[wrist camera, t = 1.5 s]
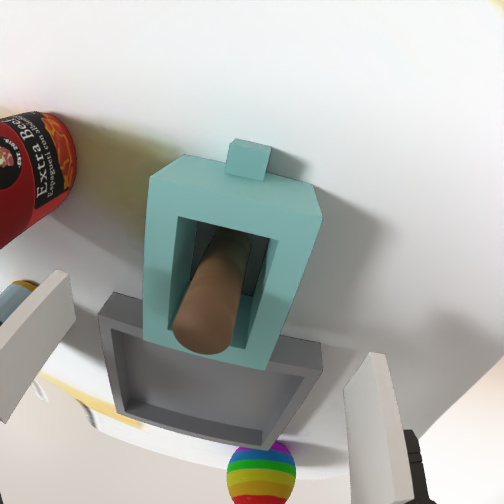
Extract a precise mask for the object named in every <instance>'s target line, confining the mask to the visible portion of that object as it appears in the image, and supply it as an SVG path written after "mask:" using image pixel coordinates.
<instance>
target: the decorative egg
mask: <svg viewBox="0 0 504 504" xmlns="http://www.w3.org/2000/svg"><path fill="white" fill-rule="evenodd" d="M295 478H296V467H295V463H294V460H293V457H292V455H291V453H290V452H289V451H288V449H287V448H286V447H285V446H283V445H282V444H280V443H278V442H274V444H273V445H272V446H271V448H270V449H269V450H268V451H265V450H258V449H251V448H245V447H239V448H238V449H237V450H236V451H235V453H234V454H233V456H232V457H231V459H230V462H229V464H228V469H227V485H228V490H229V493H230V496H231V498H232V500H233V501H234V503H235V504H285V502H286V501H287V499H288V498H289V496H290V494H291V492H292V490H293V487H294V484H295Z"/></svg>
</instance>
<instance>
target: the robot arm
mask: <svg viewBox="0 0 504 504" xmlns="http://www.w3.org/2000/svg"><path fill="white" fill-rule="evenodd" d="M75 321H76V314H75V309H74V304H73V298H72V292H71V285H70V278H69V274H68V273H65V272H63V271H60V270H57V269H56V270H55V271H53V272H52V273H51V274H50V275H49V276H48V277H47V278H46V279H45V280H44V281H43V282H42V283H41V284H40V285H39V286H38V287H37V288H36V289H35V290H34V291H33V292H32V293H31V294H30V295H29V296H28V297H27V298H26V299H25V300H24V301H23V302H22V304H21V305H20V306H19V307H18V308H17V309H16V310H15V311H14V312H13V313H12V314H11V315H10V316H9V318H8V319H7V320H6V321H5V322H4V323H3V322H1V321H0V421H2V422H3V423H5V424H6V423H7V421H8V419H9V418H10V416H11V414H12V413H13V411H14V410H15V408H16V406H17V405H18V403H19V401H20V400H21V398H22V397H23V395H24V394H25V392H26V390H27V389H28V387H29V386H30V384H31V383H32V381H33V380H34V378H35V376H36V375H37V374H38V372H39V371H40V370H41V368H42V367H43V365H44V364H45V362H46V361H47V359H48V358H49V357H50V355H51V354H52V352H53V351H54V350H55V348H56V347H57V345H58V344H59V343H60V341H61V340H62V339H63V337H64V336H65V334H66V333H67V332H68V330H69V329H70V328H71V326H72V325H73V324H74V323H75ZM343 395H344V404H345V414H346V425H347V437H348V450H349V465H350V482H351V483H350V484H351V504H436V503H435V502H434V501H432V500H430V498H429V496H428V491H427V485H426V478H425V473H424V467H423V463H422V457H421V454H420V447H419V442H418V439H417V437H416V436H415V434H414V432H413V431H412V430H403V428H402V423H401V418H400V414H399V409H398V405H397V400H396V396H395V392H394V388H393V384H392V380H391V376H390V372H389V368H388V364H387V361H386V357H385V354H381V353H374V352H369V353H368V355H367V356H366V358H365V359H364V361H363V362H362V364H361V365H360V367H359V368H358V370H357V371H356V372H355V374H354V375H353V377H352V378H351V379H350V381H349V382H348V384H347V385H346V386H345V388H344V389H343ZM0 504H3V501H2V497H1V494H0Z"/></svg>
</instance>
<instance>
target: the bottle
mask: <svg viewBox="0 0 504 504" xmlns="http://www.w3.org/2000/svg"><path fill="white" fill-rule="evenodd" d="M36 288H37V286H35V285H33V284H32V283H29V282H25V281H15V282H13V283H12V284H11V285H9V286H8V287H7V288H6V289H5V290H4V291H3V292H2V293H1V294H0V321H1V322H3V323H4V322H5V321H6V320H7V319H8V318H9V316H10V315H11V314H12V313H13V312H14V311H15V310H16V309H17V308H18V307H19V306H20V305H21V304H22V302H23V301H24V300H25V299H26V298H27V297H28V296H29V295H30V294H31V293H32V292H33V291H34V290H35V289H36Z"/></svg>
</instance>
